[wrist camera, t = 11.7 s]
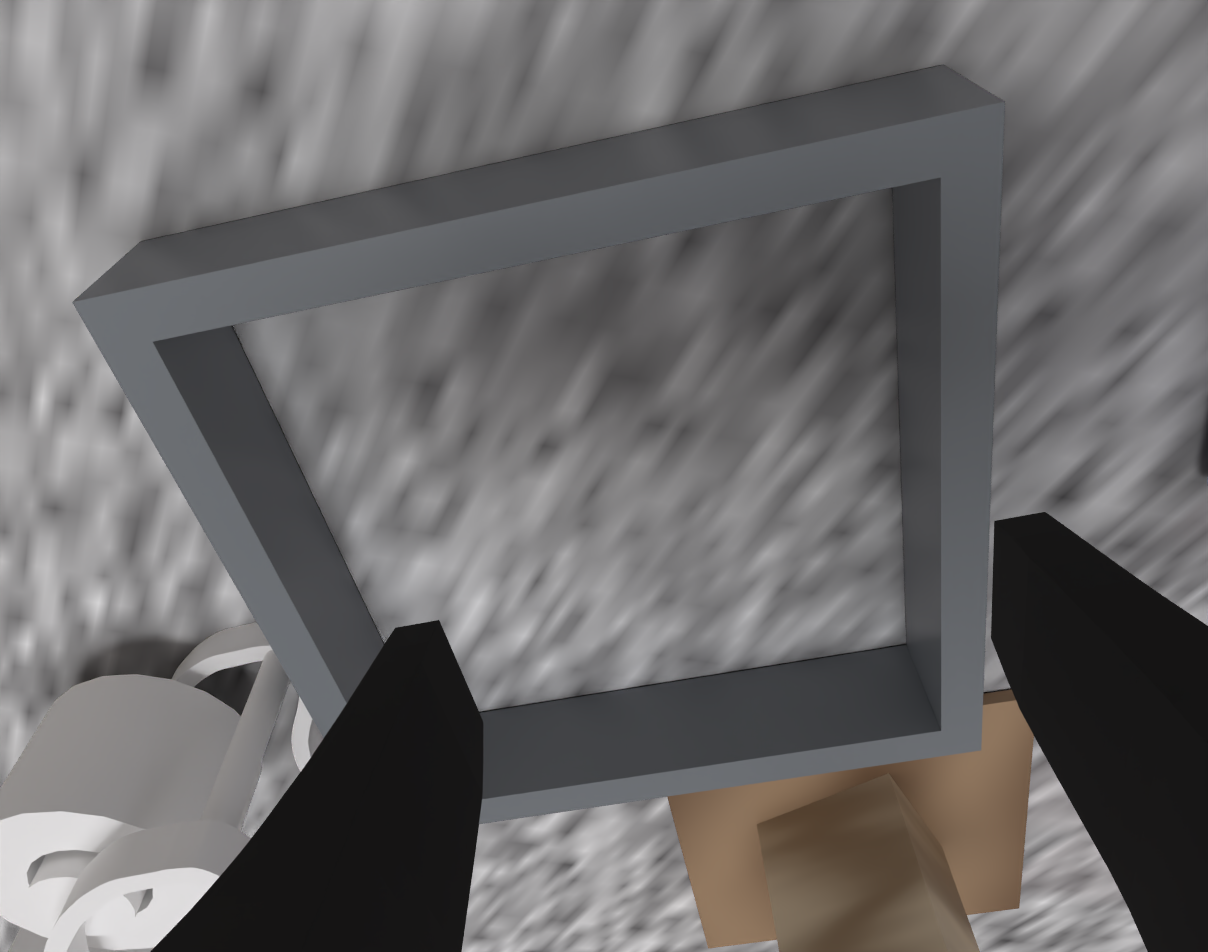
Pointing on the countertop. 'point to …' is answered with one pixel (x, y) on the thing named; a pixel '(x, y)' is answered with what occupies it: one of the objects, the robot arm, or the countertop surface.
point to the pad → (933, 786)
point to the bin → (568, 226)
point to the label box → (861, 877)
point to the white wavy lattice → (136, 799)
